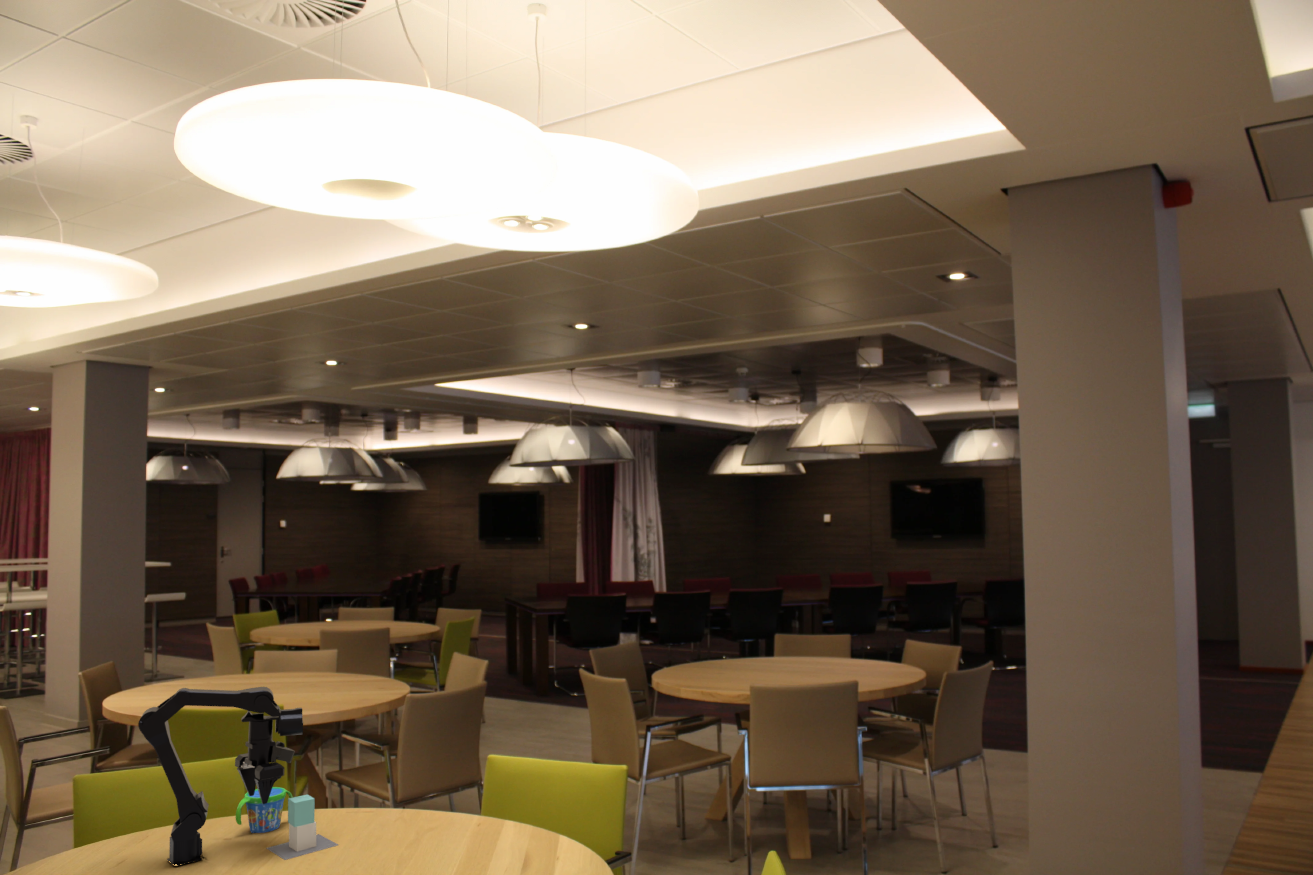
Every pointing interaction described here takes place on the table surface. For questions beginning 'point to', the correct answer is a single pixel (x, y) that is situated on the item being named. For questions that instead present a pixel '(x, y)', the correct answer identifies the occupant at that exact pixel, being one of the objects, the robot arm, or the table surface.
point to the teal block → (301, 810)
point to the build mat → (289, 853)
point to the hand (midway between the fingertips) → (258, 799)
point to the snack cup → (263, 810)
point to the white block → (302, 836)
